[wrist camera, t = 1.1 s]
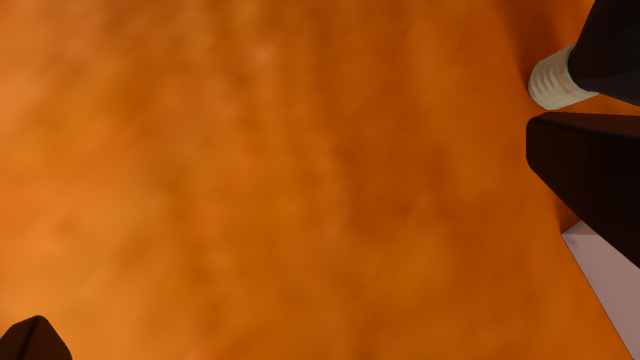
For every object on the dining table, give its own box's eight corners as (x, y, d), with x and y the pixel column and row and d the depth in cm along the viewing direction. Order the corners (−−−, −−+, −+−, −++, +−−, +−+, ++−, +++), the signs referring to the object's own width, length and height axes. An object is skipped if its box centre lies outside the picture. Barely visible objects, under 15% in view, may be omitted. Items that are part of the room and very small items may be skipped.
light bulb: (522, 1, 27) (753, -176, 15) (619, 71, 27) (915, -46, 15) (464, 103, 25) (664, -2, 14) (567, 173, 26) (842, 131, 14)
